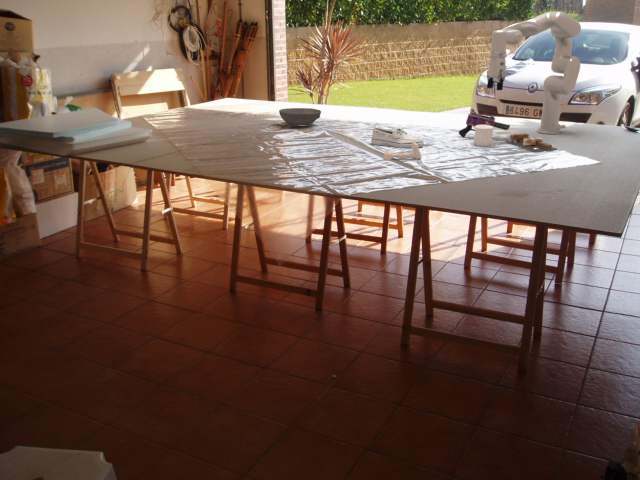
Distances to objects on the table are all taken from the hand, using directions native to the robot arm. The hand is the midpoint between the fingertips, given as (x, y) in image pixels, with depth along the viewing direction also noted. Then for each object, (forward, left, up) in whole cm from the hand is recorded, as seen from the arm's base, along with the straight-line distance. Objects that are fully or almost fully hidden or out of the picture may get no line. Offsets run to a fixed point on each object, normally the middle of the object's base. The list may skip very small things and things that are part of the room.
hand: (494, 89), depth 312 cm
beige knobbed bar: (+62, +24, -28) cm, 72 cm away
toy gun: (0, -7, -28) cm, 28 cm away
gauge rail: (-10, +21, -27) cm, 36 cm away
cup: (+10, +9, -28) cm, 31 cm away
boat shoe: (+53, -5, -28) cm, 60 cm away
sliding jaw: (-10, +23, -26) cm, 36 cm away
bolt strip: (-11, +21, -27) cm, 36 cm away
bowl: (+87, -80, -28) cm, 121 cm away
